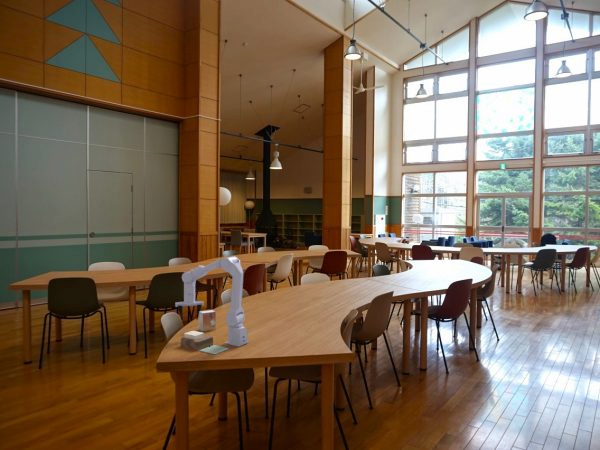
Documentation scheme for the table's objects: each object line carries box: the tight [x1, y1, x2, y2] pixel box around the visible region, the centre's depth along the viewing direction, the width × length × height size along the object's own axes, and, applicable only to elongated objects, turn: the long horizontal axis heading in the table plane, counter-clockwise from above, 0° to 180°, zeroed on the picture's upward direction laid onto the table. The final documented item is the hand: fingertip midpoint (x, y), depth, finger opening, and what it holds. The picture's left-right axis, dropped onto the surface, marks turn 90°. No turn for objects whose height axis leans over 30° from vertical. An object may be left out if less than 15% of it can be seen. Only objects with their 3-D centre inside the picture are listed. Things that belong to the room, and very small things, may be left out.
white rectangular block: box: [183, 330, 205, 340], centre depth 213 cm, size 8×6×2 cm
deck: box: [180, 334, 214, 351], centre depth 212 cm, size 12×10×4 cm
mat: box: [199, 344, 230, 355], centre depth 206 cm, size 10×10×1 cm
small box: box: [198, 309, 217, 333], centre depth 241 cm, size 8×6×10 cm
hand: (189, 319), depth 225 cm, fingers open, 7 cm apart
